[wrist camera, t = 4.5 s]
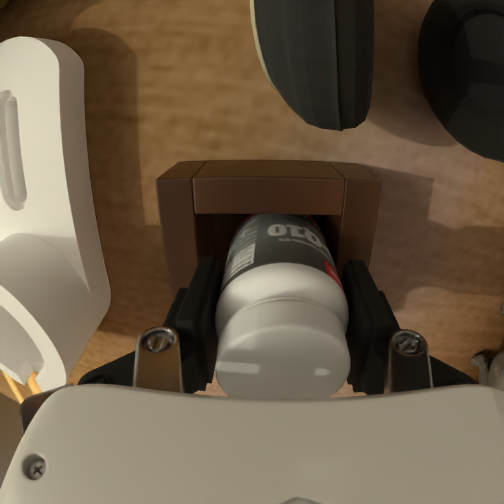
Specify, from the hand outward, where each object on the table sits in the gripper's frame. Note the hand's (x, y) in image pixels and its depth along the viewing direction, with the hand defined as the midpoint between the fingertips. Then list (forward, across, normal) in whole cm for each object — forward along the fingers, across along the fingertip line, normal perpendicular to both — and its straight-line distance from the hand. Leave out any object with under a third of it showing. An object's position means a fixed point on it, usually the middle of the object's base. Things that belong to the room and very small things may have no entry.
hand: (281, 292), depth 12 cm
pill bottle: (+4, 0, 0) cm, 4 cm away
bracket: (+5, +15, -3) cm, 16 cm away
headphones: (+5, -5, -10) cm, 13 cm away
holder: (+5, +1, 0) cm, 5 cm away
